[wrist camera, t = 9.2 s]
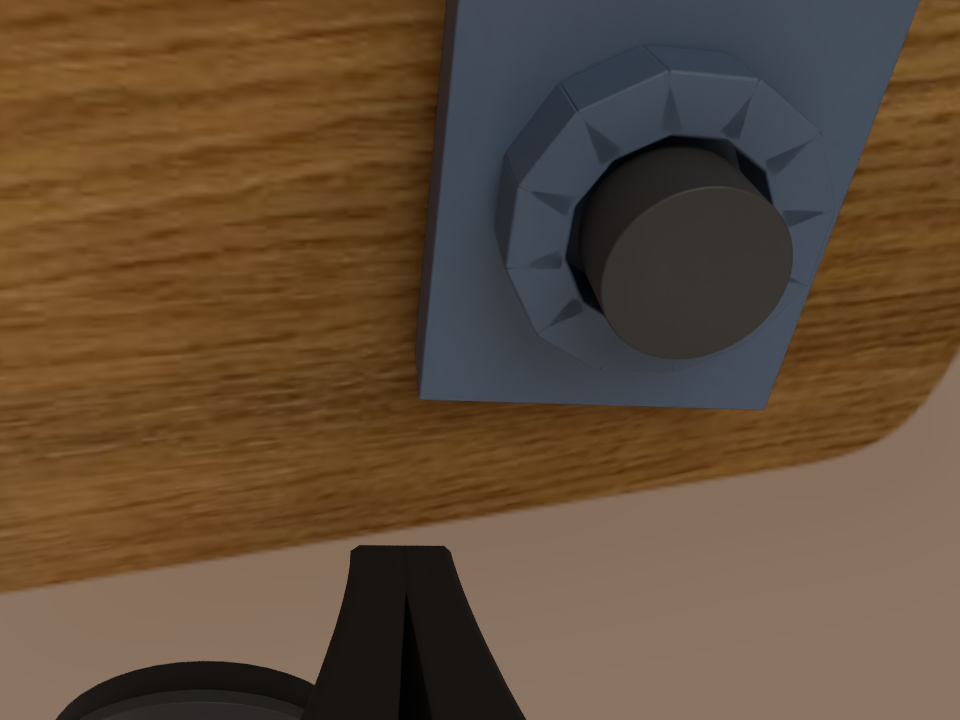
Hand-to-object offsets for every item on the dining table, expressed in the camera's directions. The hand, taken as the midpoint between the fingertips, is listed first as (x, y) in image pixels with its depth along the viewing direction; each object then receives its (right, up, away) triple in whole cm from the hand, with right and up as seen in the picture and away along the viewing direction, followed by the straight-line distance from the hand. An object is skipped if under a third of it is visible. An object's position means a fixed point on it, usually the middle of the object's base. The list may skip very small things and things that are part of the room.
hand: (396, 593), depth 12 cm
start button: (+5, +6, +5) cm, 9 cm away
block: (+5, +8, +8) cm, 12 cm away
